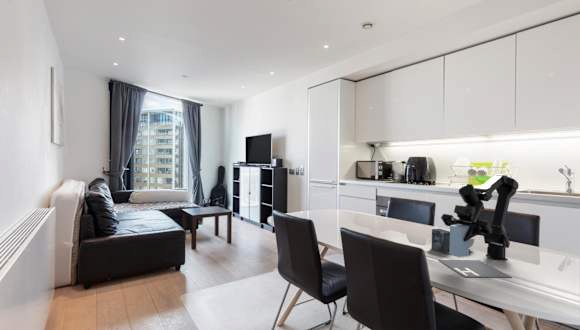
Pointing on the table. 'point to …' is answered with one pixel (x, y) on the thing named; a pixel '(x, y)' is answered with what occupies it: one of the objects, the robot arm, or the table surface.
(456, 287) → the table surface
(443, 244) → the box
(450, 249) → the dusty blue block
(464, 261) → the letter mat
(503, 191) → the robot arm
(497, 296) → the table surface
